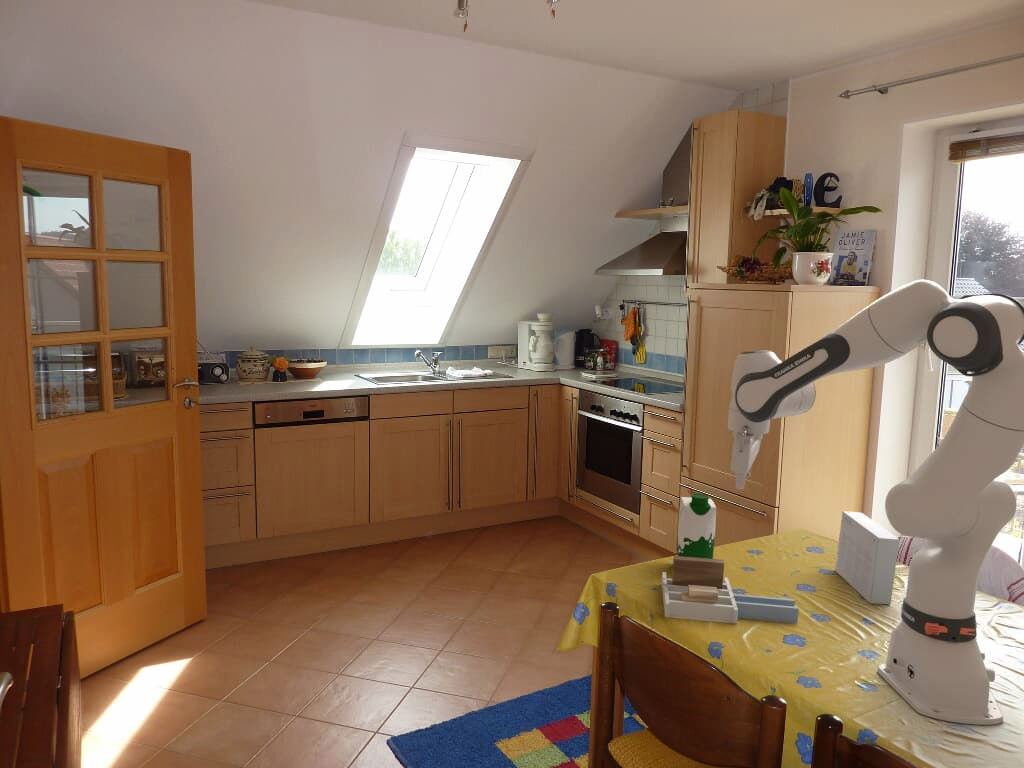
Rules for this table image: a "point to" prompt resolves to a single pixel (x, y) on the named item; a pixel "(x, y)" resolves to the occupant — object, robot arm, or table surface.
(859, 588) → the skincare box
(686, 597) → the offcut mid
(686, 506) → the milk carton
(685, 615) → the rack
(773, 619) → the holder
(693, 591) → the offcut top
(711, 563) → the walnut sheet
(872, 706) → the table surface
